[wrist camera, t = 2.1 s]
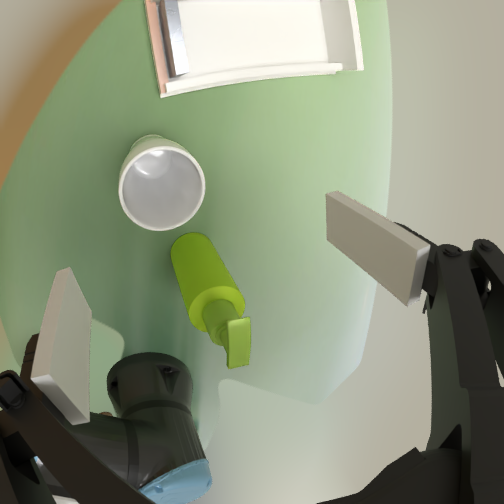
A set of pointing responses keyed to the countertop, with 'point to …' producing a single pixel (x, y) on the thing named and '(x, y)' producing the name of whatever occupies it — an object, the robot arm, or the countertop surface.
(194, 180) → the white tumbler cup
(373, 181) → the countertop surface
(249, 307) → the countertop surface
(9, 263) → the countertop surface
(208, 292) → the soap dispenser
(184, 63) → the pusher plate
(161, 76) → the pusher lane
